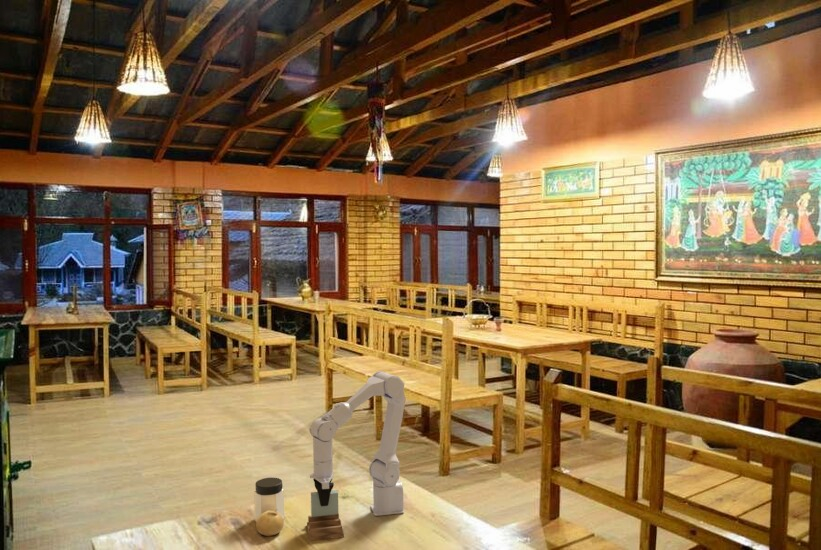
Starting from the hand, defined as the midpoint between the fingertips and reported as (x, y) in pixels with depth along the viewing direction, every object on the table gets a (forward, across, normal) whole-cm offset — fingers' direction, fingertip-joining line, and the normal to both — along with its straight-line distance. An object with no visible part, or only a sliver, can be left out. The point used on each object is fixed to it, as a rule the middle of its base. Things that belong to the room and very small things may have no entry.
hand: (323, 503), depth 195 cm
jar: (+8, -10, -16) cm, 20 cm away
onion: (+8, -1, -16) cm, 18 cm away
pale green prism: (+3, 0, 0) cm, 3 cm away
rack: (+7, +2, 0) cm, 8 cm away
